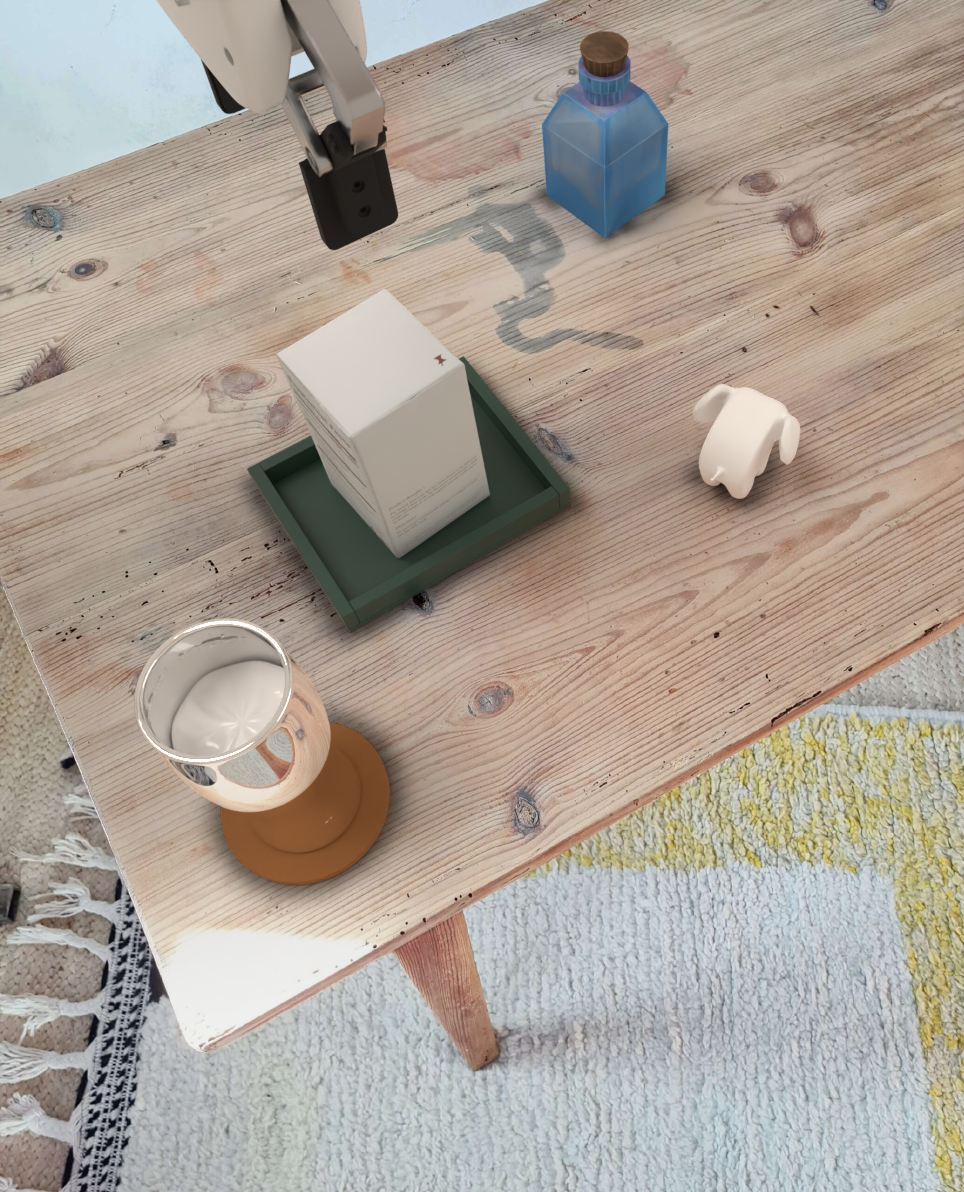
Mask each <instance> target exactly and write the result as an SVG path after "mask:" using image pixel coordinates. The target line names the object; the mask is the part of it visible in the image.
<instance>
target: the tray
mask: <svg viewBox="0 0 964 1192" xmlns="http://www.w3.org/2000/svg"><path fill="white" fill-rule="evenodd" d="M458 359H459V360H460V361H461V362H463V363H464V365H465V370H466V376H467V381H468V386H469V391H470V396H471V401H472V406H473V412H474V417H475V422H476V427H477V432H478V437H479V442H480V447H481V452H482V457H483V462H484V468H485V472H486V477H487V482H488V487H489V492H490V495H489V496H488V497H487V498H485V499H484V500H482V501H481V502H479V503H478V504H477V505H475V506H474V507H472V508H471V509H469V510H468V511H467V512H465V513H464V514H462V515H461V516H459V517H458V518H457V519H455V520H454V521H452V522H451V523H449V524H448V525H447V526H445V527H444V528H442V529H441V530H439V531H438V532H437V533H435V534H434V535H432V536H431V537H429V538H428V539H427V540H425V541H424V542H422V543H421V544H420V545H418V546H417V547H415V548H414V549H412V550H411V551H409V552H408V553H407V554H405V555H404V556H402V557H401V558H397V557H396V556H395V555H394V554H393V553H392V552H391V550H390V549H389V548H388V547H387V546H386V545H385V544H384V543H383V542H382V540H381V539H380V538H379V537H378V536H377V535H376V534H375V532H374V531H373V530H372V529H371V528H370V527H369V526H368V525H367V523H366V522H365V521H364V520H363V519H362V518H361V517H360V515H359V514H358V513H357V512H356V511H355V510H354V509H353V508H352V506H351V505H350V504H349V503H348V502H347V501H346V500H345V499H344V497H343V496H342V495H341V494H340V493H339V492H338V491H337V490H336V489H335V488H334V487H333V485H332V484H331V482H330V480H329V477H328V475H327V473H326V470H325V468H324V465H323V463H322V460H321V458H320V456H319V453H318V451H317V449H316V446H315V444H314V441H313V439H312V437H311V435H309V436H306V437H305V438H303V439H301V440H299V441H297V442H295V443H294V444H291V445H289V446H288V447H285V448H284V449H282V450H280V451H278V452H276V453H274V454H272V455H270V456H269V457H266V458H264V459H263V460H261V461H258V462H257V463H255V464H253V465H251V466H249V467H247V468H246V471H247V472H248V474H249V476H250V478H251V479H252V481H253V484H254V485H255V487H256V489H257V490H258V492H259V494H260V495H261V496H262V499H263V500H264V501H265V503H266V504H267V506H268V507H269V509H270V510H271V512H272V514H273V515H274V517H275V519H276V520H277V522H278V523H279V525H280V526H281V528H282V530H283V532H284V533H285V534H286V536H287V538H288V539H289V541H290V542H291V544H292V545H293V547H294V548H295V550H296V551H297V553H298V555H299V556H300V558H301V560H302V561H303V562H304V564H305V566H306V568H307V569H308V571H309V572H310V573H311V575H312V577H313V578H314V580H315V581H316V583H317V584H318V586H319V588H320V589H321V591H322V593H323V595H324V596H325V597H326V599H327V600H328V602H329V603H330V605H331V607H332V608H333V610H334V612H335V613H336V614H337V616H338V618H339V619H340V621H341V622H342V624H343V625H344V627H345V629H346V630H347V632H348V633H349V634H351V633H353V632H355V631H356V630H359V629H360V628H362V627H363V626H365V625H367V624H368V623H370V622H372V621H374V620H375V619H377V618H379V617H381V616H383V615H385V614H386V613H388V612H389V611H391V610H393V609H395V608H396V607H398V606H400V605H401V604H403V603H405V602H407V601H408V600H410V599H412V598H414V597H415V596H417V595H419V594H421V593H422V592H424V591H426V590H428V589H429V588H431V587H433V586H435V585H436V584H438V583H439V582H442V581H443V580H445V579H446V578H448V577H450V576H452V575H453V574H455V573H457V572H459V571H461V570H462V569H464V568H466V567H467V566H469V565H471V564H473V563H474V562H476V561H478V560H480V559H481V558H483V557H485V556H486V555H488V554H490V553H492V552H494V551H495V550H497V549H499V548H500V547H502V546H503V545H506V544H507V543H509V542H511V541H512V540H514V539H516V538H517V537H519V536H522V535H523V534H525V533H526V532H528V531H530V530H532V529H533V528H535V527H537V526H539V525H540V524H542V523H544V522H545V521H548V520H549V519H551V518H552V517H554V516H556V515H557V514H559V513H561V512H563V511H565V510H566V509H568V508H570V507H571V505H572V504H571V503H572V501H571V488H570V487H569V485H568V484H567V483H566V481H565V480H564V479H563V478H562V476H561V475H560V474H559V473H558V472H557V471H556V469H555V468H554V467H553V465H552V464H551V463H550V461H548V459H547V457H545V455H544V454H543V453H542V452H541V450H539V448H538V447H537V446H536V444H535V443H534V442H533V440H532V439H531V438H530V436H528V434H527V433H526V432H525V430H524V429H523V428H522V427H521V425H520V424H519V423H518V421H516V419H515V418H514V417H513V415H512V414H511V413H510V411H508V409H507V408H506V407H505V406H504V404H503V403H502V401H500V399H499V398H498V397H497V396H496V394H495V393H494V392H493V391H492V389H491V388H490V387H489V385H488V384H487V382H485V381H484V380H483V378H482V377H481V376H480V374H479V373H478V372H477V370H475V368H474V367H473V366H472V365H471V363H470V362H469V361H468V359H467V358H466V357H465V356H464V355H463V356H461V357H458Z"/></svg>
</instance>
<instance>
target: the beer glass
mask: <svg viewBox="0 0 964 1192" xmlns="http://www.w3.org/2000/svg"><path fill="white" fill-rule="evenodd" d="M133 708H134V716H135V721H136V723H137V727H138V728H139V730H140V733H141V734H142V736H143V737H144V739H145V740H146V741H147V742H148V744H149V745H150V746H151V747H152V748H153V749H154V750H155V751H156V752H157V754H158V756H160V758H161V759H162V760H163V761H164V762H165V764H166V765H167V766H168V767H169V769H170V770H171V771H172V772H173V773H174V774H175V775H176V776H177V777H178V778H179V779H180V780H181V781H182V782H183V783H184V784H185V785H187V786H188V787H189V788H190V789H191V790H193V791H194V792H195V793H197V794H198V795H200V796H201V797H202V798H204V799H205V800H208V801H209V802H211V803H213V804H215V805H217V806H219V807H220V808H221V807H223V808H226V809H229V810H231V811H234V812H237V813H240V814H243V815H246V816H247V817H248V819H249V822H250V824H251V826H252V828H253V830H254V831H255V832H256V834H257V835H258V836H259V837H260V839H261V840H263V841H264V842H265V843H266V844H268V845H269V846H271V847H273V848H275V849H278V850H281V851H285V852H291V853H304V852H310V851H314V850H317V849H320V848H322V847H324V846H326V845H328V844H330V843H331V842H333V841H334V840H336V839H337V838H338V837H339V836H341V835H342V834H343V833H344V832H345V830H346V829H347V828H348V827H349V825H350V824H351V822H352V821H353V819H354V817H355V815H356V813H357V810H358V807H359V803H360V798H361V784H360V779H359V775H358V773H357V770H356V768H355V767H354V765H353V763H352V762H351V761H350V760H349V758H348V757H347V756H346V755H345V754H344V753H342V752H341V751H340V750H339V749H337V748H336V747H334V746H333V742H332V735H331V730H330V724H329V722H330V720H329V717H328V714H327V710H326V707H325V704H324V702H323V700H322V698H321V696H320V694H319V692H318V690H317V688H316V686H315V684H314V683H313V681H312V680H311V679H310V676H309V675H308V674H307V673H306V671H305V669H303V667H302V666H301V665H300V664H299V663H298V661H297V660H296V659H295V657H293V656H292V654H291V653H290V652H289V651H288V650H287V649H286V647H285V646H284V644H283V643H282V642H281V640H279V638H278V637H277V636H276V635H275V634H274V633H272V632H271V631H270V630H268V629H267V628H265V627H264V626H261V625H260V624H257V623H255V622H252V621H249V620H246V619H240V618H231V617H228V618H227V617H223V618H214V619H207V620H203V621H200V622H197V623H194V624H192V625H189V626H188V627H185V628H183V629H181V630H180V631H178V632H176V633H175V634H173V635H172V636H171V637H169V638H168V639H167V640H165V641H164V642H163V643H162V644H161V645H159V647H158V648H157V649H155V651H154V652H153V653H152V655H151V656H150V657H149V659H148V660H147V661H146V663H145V665H144V666H143V668H142V670H141V673H140V674H139V677H138V680H137V682H136V687H135V690H134V698H133Z"/></svg>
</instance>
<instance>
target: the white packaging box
mask: <svg viewBox="0 0 964 1192" xmlns="http://www.w3.org/2000/svg"><path fill="white" fill-rule="evenodd" d="M276 357H277V359H278V362H279V365H280V366H281V369H282V371H283V374H284V376H285V379H286V380H287V383H288V385H289V388H290V390H291V392H292V395H293V397H294V399H295V401H296V404H297V407H298V408H299V411H300V413H301V416H302V417H303V420H304V422H305V424H306V427H307V429H308V432H309V434H310V436H311V437H312V439H313V441H314V444H315V446H316V449H317V451H318V453H319V456H320V458H321V460H322V463H323V465H324V468H325V470H326V473H327V475H328V477H329V480H330V482H331V484H332V485H333V487H334V488H335V489H336V490H337V491H338V492H339V493H340V494H341V495H342V496H343V497H344V499H345V500H346V501H347V502H348V503H349V504H350V505H351V506H352V508H353V509H354V510H355V511H356V512H357V513H358V514H359V515H360V517H361V518H362V519H363V520H364V521H365V522H366V523H367V525H368V526H369V527H370V528H371V529H372V530H373V531H374V532H375V534H376V535H377V536H378V537H379V538H380V539H381V540H382V542H383V543H384V544H385V545H386V546H387V547H388V548H389V549H390V550H391V552H392V553H393V554H394V555H395V556H396V557H397V558H401V557H402V556H404V555H405V554H407V553H408V552H409V551H411V550H412V549H414V548H415V547H417V546H418V545H420V544H421V543H422V542H424V541H425V540H427V539H428V538H429V537H431V536H432V535H434V534H435V533H437V532H438V531H439V530H441V529H442V528H444V527H445V526H447V525H448V524H449V523H451V522H452V521H454V520H455V519H457V518H458V517H459V516H461V515H462V514H464V513H465V512H467V511H468V510H469V509H471V508H472V507H474V506H475V505H477V504H478V503H479V502H481V501H482V500H484V499H485V498H487V497H488V496H489V495H490V492H489V487H488V482H487V477H486V472H485V468H484V462H483V457H482V452H481V447H480V442H479V437H478V432H477V427H476V422H475V417H474V412H473V406H472V401H471V396H470V391H469V386H468V381H467V376H466V370H465V365H464V363H463V362H461V361H460V360H459V357H457V356H456V355H455V354H454V353H453V352H452V351H451V350H450V349H449V348H447V346H445V345H444V344H443V342H441V341H440V340H439V339H438V338H437V337H436V336H435V335H434V334H433V333H432V332H430V330H429V329H428V327H426V326H425V325H424V324H423V323H421V321H419V320H418V318H417V317H416V316H415V315H413V313H412V312H411V311H410V310H409V309H407V308H406V307H405V306H404V304H402V303H401V302H400V301H399V300H398V299H397V298H396V297H395V296H394V295H393V294H392V293H391V292H389V290H387V289H386V288H383V289H380V290H379V291H378V292H376V293H374V294H373V295H371V296H369V297H368V298H366V299H364V300H363V301H361V302H360V303H358V304H357V305H355V306H353V307H352V308H350V309H348V310H347V311H345V312H343V313H341V314H340V315H338V316H336V317H335V318H334V319H332V320H329V321H328V322H327V323H325V324H324V325H322V326H320V327H318V328H317V329H315V330H313V331H312V332H310V333H309V334H307V335H305V336H304V337H301V338H299V340H297V341H296V342H293V343H292V344H290V345H288V346H287V347H285V348H284V349H282V350H281V351H279V352H277V353H276Z"/></svg>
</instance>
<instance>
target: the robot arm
mask: <svg viewBox="0 0 964 1192" xmlns="http://www.w3.org/2000/svg"><path fill="white" fill-rule="evenodd" d="M156 2H157V3H158V5H159V6H160V8H161V10H163V12H164V14H166V16H167V17H168V18H169V20H170V21H171V22H172V23H173V25H174V26H175V28H176V29H177V30H178V32H179V33H180V34H181V36H183V38H184V39H185V40H186V42H187V43H188V44H189V46H190V47H191V48H192V50H193V51H194V52H195V53H196V54H197V56H198V57H199V59H200V62H201V64H202V67H203V69H204V72H205V75H206V77H207V81H208V83H209V86H210V89H211V92H212V94H213V97H214V100H215V103H216V105H217V106H218V107H219V109H220V110H221V111H222V112H223V113H224V114H225V115H233V114H235V113H239V112H241V111H243V110H249V111H250V112H253V113H256V114H259V115H262V114H264V113H267V112H268V111H269V109H272V108H275V107H276V106H279V105H280V106H281V107H282V109H283V111H284V113H285V115H286V117H287V120H288V122H289V124H290V126H291V128H292V130H293V132H294V134H295V136H296V138H297V140H298V142H299V145H300V147H301V150H302V151H303V153H304V155H305V157H306V158H304V159H303V160H301V161H299V162H298V166H299V169H300V172H301V177H302V180H303V182H304V183H303V184H304V186H305V189H306V192H307V193H306V194H307V195H308V199H309V203H310V205H311V210H312V212H313V215H314V219H315V222H316V226H317V229H318V232H319V235H320V239H321V241H322V242H323V243H324V244H325V245H326V247H327V249H329V250H331V251H338V250H340V249H341V248H344V247H347V246H348V245H351V244H352V243H355V242H357V241H359V240H362V239H363V238H366V237H368V236H370V235H372V234H374V233H376V232H379V231H380V230H381V231H382V230H384V229H385V228H388V227H389V226H392V225H393V224H395V222H396V221H397V220H398V218H399V210H398V205H397V200H396V195H395V190H394V186H393V182H392V176H391V174H390V172H391V171H390V167H389V163H388V158H387V153H386V149H387V147H388V142H387V134H386V133H387V132H388V127H387V126H385V125H384V123H386V121H385V114H386V104H385V100H384V97H383V95H382V92H381V89H380V88H379V85H378V84H377V83H376V81H375V79H374V77H373V75H372V73H371V72H370V70H369V68H368V67H367V65H366V61H367V56H368V45H367V43H368V42H367V34H366V27H365V22H364V16H363V15H364V14H363V10H362V4H361V0H156ZM301 53H304V54H305V55H306V57H307V58H308V60H309V62H310V64H311V66H312V69H310V70H307V71H306V72H305V71H304V72H302V73H300V74H298V75H295V76H293V77H290V71H291V64H292V57H295V56H297V55H299V54H301ZM324 88H325V90H326V91H327V94H328V96H329V98H330V101H331V104H332V105H331V106H332V115H333V116H334V117H335V120H336V121H333V122H331V123H328V124H327V125H326V126H325V128H324V129H323V130H322V131H321V132H320V133H319V131H318V128H317V127H316V125H315V122H314V120H313V118H312V116H311V114H310V112H309V109H308V107H307V105H306V103H305V101H304V99H303V97H305V96H308V95H311V94H313V93H316V92H317V91H320V90H322V89H324Z"/></svg>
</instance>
